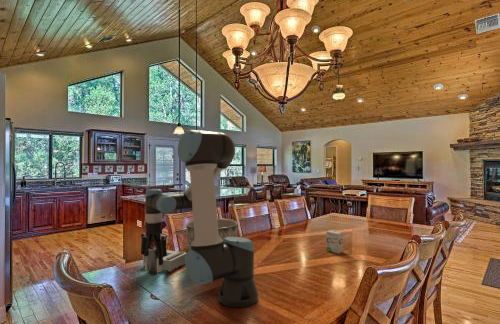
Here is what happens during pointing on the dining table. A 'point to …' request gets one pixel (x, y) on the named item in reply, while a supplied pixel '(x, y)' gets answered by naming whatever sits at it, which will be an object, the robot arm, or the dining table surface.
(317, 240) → the dining table surface
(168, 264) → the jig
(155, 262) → the metal cylinder
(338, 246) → the ink box
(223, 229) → the planter
